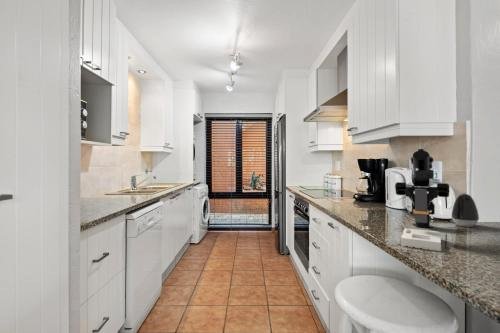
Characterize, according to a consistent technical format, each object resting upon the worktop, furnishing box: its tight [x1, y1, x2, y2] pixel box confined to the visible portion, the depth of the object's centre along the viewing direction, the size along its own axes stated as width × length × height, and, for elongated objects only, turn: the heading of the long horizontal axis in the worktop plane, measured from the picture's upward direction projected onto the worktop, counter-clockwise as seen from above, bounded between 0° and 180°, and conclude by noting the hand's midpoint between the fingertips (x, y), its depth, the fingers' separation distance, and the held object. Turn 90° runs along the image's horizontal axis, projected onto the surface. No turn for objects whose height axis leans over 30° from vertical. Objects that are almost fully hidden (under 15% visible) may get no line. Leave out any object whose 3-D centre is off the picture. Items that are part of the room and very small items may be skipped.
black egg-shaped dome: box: [451, 193, 480, 228], centre depth 129 cm, size 10×10×15 cm
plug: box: [412, 189, 430, 223], centre depth 108 cm, size 5×5×13 cm
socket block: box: [400, 227, 442, 252], centre depth 104 cm, size 17×12×4 cm
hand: (420, 205), depth 107 cm, fingers closed on plug, 4 cm apart
